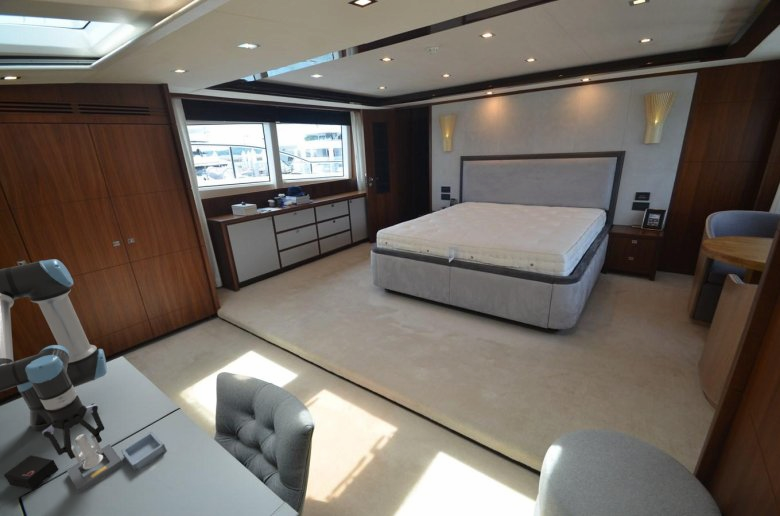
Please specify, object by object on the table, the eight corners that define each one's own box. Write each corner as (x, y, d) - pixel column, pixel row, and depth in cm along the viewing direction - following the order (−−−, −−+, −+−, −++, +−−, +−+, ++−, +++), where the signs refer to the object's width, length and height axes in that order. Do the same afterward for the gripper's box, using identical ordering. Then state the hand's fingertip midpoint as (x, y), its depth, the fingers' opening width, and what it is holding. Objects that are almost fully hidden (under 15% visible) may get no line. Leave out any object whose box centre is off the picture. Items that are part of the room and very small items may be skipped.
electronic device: (36, 465, 118) (30, 454, 117) (59, 469, 116) (53, 459, 114) (10, 485, 112) (3, 474, 110) (33, 491, 109) (26, 480, 107)
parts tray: (124, 456, 119) (121, 450, 118) (154, 437, 126) (151, 431, 125) (135, 472, 113) (132, 465, 112) (166, 450, 120) (164, 444, 119)
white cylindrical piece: (84, 472, 110) (69, 445, 106) (81, 463, 114) (67, 436, 110) (104, 461, 114) (91, 434, 110) (101, 452, 117) (88, 426, 113)
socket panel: (68, 474, 114) (66, 469, 113) (111, 448, 123) (109, 443, 122) (79, 493, 107) (76, 488, 106) (123, 464, 116) (121, 459, 115)
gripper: (25, 427, 96) (58, 483, 104) (100, 389, 109) (124, 442, 117) (20, 416, 100) (52, 471, 108) (93, 380, 113) (117, 432, 122)
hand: (90, 456), depth 113 cm, fingers closed on white cylindrical piece, 4 cm apart
